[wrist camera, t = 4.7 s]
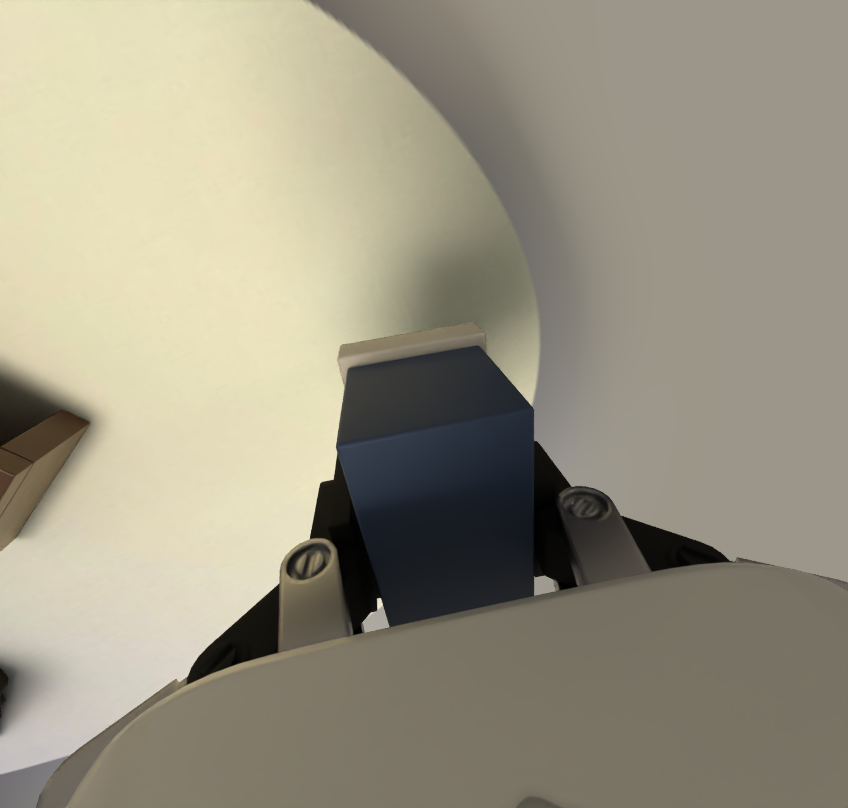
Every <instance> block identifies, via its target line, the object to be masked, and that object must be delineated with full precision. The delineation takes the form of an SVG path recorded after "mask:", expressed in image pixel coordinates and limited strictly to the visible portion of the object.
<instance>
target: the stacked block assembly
mask: <svg viewBox="0 0 848 808" xmlns="http://www.w3.org/2000/svg"><path fill="white" fill-rule="evenodd" d="M337 361H338V365H339V369H340V372H341V376H342V380H343V384H344V388H345V389H344V396H343V403H342V410H341V416H340V423H339V430H338V437H337V443H336V449H337V453H338V456H339V459H340V463H341V466H342V469H343V473H344V476H345V479H346V483H347V486H348V489H349V493H350V496H351V499H352V503H353V506H354V509H355V513H356V516H357V519H358V523H359V526H360V529H361V533H362V536H363V540H364V543H365V546H366V550H367V553H368V556H369V560H370V563H371V566H372V570H373V573H374V576H375V580H376V583H377V586H378V590H379V593H380V596H381V600H382V603H383V606H384V610H385V613H386V616H387V620H388V623H389V626H390V627H393V626H398V625H402V624H407V623H411V622H416V621H420V620H425V619H430V618H434V617H439V616H443V615H448V614H453V613H457V612H462V611H467V610H471V609H476V608H480V607H485V606H490V605H494V604H499V603H504V602H508V601H513V600H518V599H522V598H527V597H532V596H534V409H533V407H532V406H531V405H530V404H529V403H528V401H527V400H526V399H525V398H524V397H523V396H522V395H521V393H520V392H519V391H518V390H517V389H516V388H515V386H514V385H513V384H512V383H511V382H510V381H509V379H508V378H507V377H506V376H505V375H504V374H503V373H502V371H501V370H500V369H499V368H498V367H497V366H496V364H495V363H494V362H493V361H492V360H491V359H490V357H489V356H488V355H487V352H486V336H485V333H484V331H483V330H482V329H481V328H480V327H479V326H478V325H477V324H476V323H474V322H470V323H464V324H459V325H453V326H447V327H441V328H436V329H430V330H424V331H418V332H413V333H407V334H401V335H395V336H390V337H384V338H378V339H372V340H367V341H361V342H355V343H349V344H344V345H341V346H340V350H339V355H338V359H337Z"/></svg>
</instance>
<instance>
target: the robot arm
mask: <svg viewBox="0 0 848 808" xmlns="http://www.w3.org/2000/svg"><path fill="white" fill-rule="evenodd" d="M544 575H545V576H547V577H549V578H551V579H553V580H554V587H555V590H556V592H551V593H546V594H541V595H537V596H532V597H527V598H522V599H518V600H513V601H508V602H504V603H499V604H494V605H490V606H485V607H480V608H476V609H471V610H467V611H462V612H457V613H453V614H448V615H443V616H439V617H434V618H430V619H425V620H420V621H416V622H411V623H407V624H402V625H398V626H393V627H389V628H385V629H381V630H376V631H371V632H366V633H365V632H364V627H363V624H362V622H363V621H364V620H365V619H366V617H367V616H368V615H369V614H370V613H371V612H375V611H377V598H381V596H380V593H379V590H378V586H377V583H376V580H375V576H374V573H373V570H372V566H371V563H370V560H369V556H368V553H367V550H366V546H365V543H364V540H363V536H362V533H361V529H360V526H359V523H358V519H357V516H356V513H355V509H354V506H353V503H352V499H351V496H350V493H349V489H348V486H347V483H346V479H345V476H344V473H343V469H342V466H341V463H340V459H339V456H338V453H337V460H336V468H335V475H334V480H330V481H325V482H321V484H320V487H319V492H318V498H317V503H316V508H315V514H314V519H313V525H312V530H311V535H310V540H307V541H305V542H303V543H300V544H299V545H297V546H296V547H294V548H293V549H292V550H291V551H290V552H289V553H288V554H287V555H286V556H285V558H284V560H283V561H282V563H281V567H280V583H279V584H278V585H277V586H276V587H275V588H274V589H273V590H272V591H270V592H269V593H268V594H267V595H266V596H265V597H264V598H262V599H261V600H260V601H259V602H258V603H257V604H256V605H255V606H253V607H252V608H251V609H250V610H249V611H248V612H247V613H246V614H244V615H243V616H242V617H241V618H240V619H239V620H238V621H237V622H235V623H234V624H233V625H232V626H231V627H230V628H229V629H228V630H226V631H225V632H224V633H223V634H222V635H221V636H220V637H219V638H217V639H216V640H215V641H214V642H213V643H212V644H211V645H210V646H208V647H207V648H206V649H205V651H204V652H203V653H202V654H201V655H200V656H199V657H198V658H197V660H196V661H195V663H194V665H193V666H192V668H191V670H190V673H189V675H188V677H187V678H185V679H184V680H182V681H181V682H180V683H179V682H178V680H177V679H175V680H174V681H172V682H171V683H169V684H168V685H167V686H165V687H164V688H162V689H161V690H160V691H158V692H157V693H155V694H154V695H153V696H151V697H150V698H149V699H147V700H146V701H144V702H143V703H142V704H140V705H139V706H137V707H136V708H135V709H133V710H132V711H130V712H129V713H128V714H126V715H125V716H123V717H122V718H121V719H119V720H118V721H117V722H115V723H114V724H112V725H111V726H110V727H108V728H107V729H105V730H104V731H103V732H101V733H100V734H98V735H97V736H96V737H94V738H93V739H91V740H90V741H89V742H87V743H86V744H85V745H83V746H82V747H80V748H79V749H78V750H76V751H75V752H74V753H73V754H72V755H71V756H70V757H68V758H67V759H66V760H65V761H64V762H63V763H62V764H61V765H60V766H59V768H58V769H57V770H56V771H55V772H54V773H53V775H52V776H51V777H50V779H49V780H48V782H47V783H46V785H45V787H44V789H43V790H42V792H41V794H40V796H39V799H38V803H37V806H36V808H848V583H847V582H844V581H841V580H837V579H833V578H828V577H823V576H819V575H815V574H810V573H806V572H802V571H798V570H794V569H790V568H784V567H780V566H774V565H770V564H765V563H760V562H756V561H752V560H747V559H742V558H737V559H736V561H735V562H733V561H729V560H728V559H727V558H726V557H725V556H724V555H723V554H722V553H721V552H719V551H717V550H716V549H714V548H713V547H711V546H709V545H706V544H704V543H702V542H699V541H696V540H693V539H689V538H687V537H684V536H681V535H678V534H675V533H672V532H669V531H665V530H663V529H660V528H656V527H654V526H650V525H647V524H644V523H642V522H639V521H635V520H633V519H629V518H627V517H624V516H621V515H620V514H619V512H618V510H617V508H616V506H615V505H614V503H613V501H612V500H611V499H610V498H609V497H608V496H607V495H606V494H604V493H603V492H601V491H599V490H596V489H594V488H589V487H583V486H575V487H571V486H570V484H569V483H568V481H567V480H566V479H565V477H564V476H563V475H562V473H561V472H560V471H559V469H558V468H557V467H556V465H555V464H554V463H553V461H552V460H551V459H550V458H549V456H548V455H547V453H546V452H545V451H544V449H543V448H542V447H541V445H540V444H539V443H538V442H537V441H534V576H535V577H539V576H544Z"/></svg>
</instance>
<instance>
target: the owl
mask: <svg viewBox="0 0 848 808" xmlns="http://www.w3.org/2000/svg"><path fill="white" fill-rule="evenodd" d="M7 684H8V678H7V676H6V675H5V674H4V672H3V671H2V670H1V669H0V708H1V706H2V705H3V704H4V702H5V698H4V695H3V694H2V692H3V691H4V689H5V688H6V686H7ZM0 718H1V711H0Z"/></svg>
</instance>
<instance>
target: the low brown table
mask: <svg viewBox="0 0 848 808" xmlns="http://www.w3.org/2000/svg"><path fill="white" fill-rule="evenodd" d="M89 424H90V423H89V422H87V421H85V420H83V419H81V418H79V417H77V416H75V415H73V414H71V413H69V412H67V411H65V410H61V411H59V412H58V413H56V414H54V415H53V416H51V417H49V418H48V419H46V420H44V421H42V422H41V423H39V424H37V425H36V426H34V427H32V428H31V429H29V430H27V431H26V432H24V433H22V434H21V435H19V436H17V437H16V438H14V439H12V440H11V441H9V442H7V443H6V444H4V445H2V446H1V447H0V551H1V550H3V549H4V548H5V547H6V546H7V545H8V544H9V543H11V542H12V541H13V540H14V539H15V538H16V536H17V535H18V533H19V532H20V530H21V528H22V527H23V525H24V524H25V522H26V521H27V519H28V518H29V516H30V515H31V513H32V512H33V510H34V509H35V507H36V505H37V504H38V502H39V501H40V499H41V498H42V496H43V495H44V493H45V492H46V490H47V489H48V487H49V485H50V484H51V482H52V481H53V479H54V478H55V476H56V475H57V473H58V472H59V470H60V469H61V467H62V466H63V464H64V462H65V461H66V459H67V458H68V456H69V455H70V453H71V452H72V450H73V449H74V447H75V446H76V444H77V442H78V441H79V439H80V438H81V436H82V435H83V433H84V432H85V430H86V429H87V427H88V426H89Z"/></svg>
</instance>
